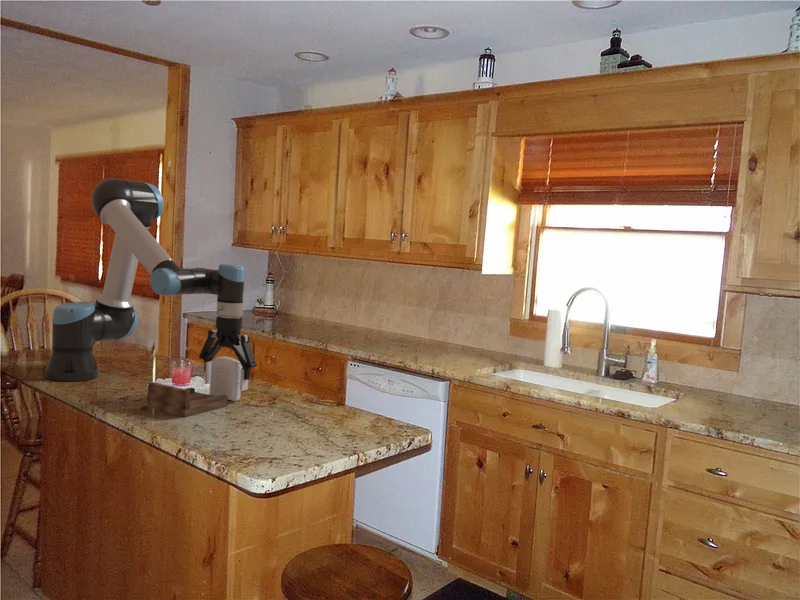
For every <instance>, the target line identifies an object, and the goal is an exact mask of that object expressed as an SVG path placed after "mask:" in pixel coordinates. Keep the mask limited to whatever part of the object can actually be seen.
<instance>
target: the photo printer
mask: <svg viewBox="0 0 800 600" xmlns="http://www.w3.org/2000/svg"><path fill="white" fill-rule="evenodd" d="M242 368H243V367H242V365H241V363H240V361H239V360H237V359H236V358H234V357H232V356H231V357H230V356H218V357H217V356H215V357H214V358H213V359H212V366H211V382H210V383H209V395H211V396H215V397H217V396H221V395H226V396H227V401H228V400H229V401H231V402H232V401H233V402H236V401H240V399H241V397H242V396H241V395H242V391H240V375H241V369H242Z"/></svg>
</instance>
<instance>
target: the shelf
mask: <svg viewBox="0 0 800 600" xmlns="http://www.w3.org/2000/svg"><path fill="white" fill-rule="evenodd" d="M147 384H148V386H147V407H146V408H147V409H151V410H154V411H159V412H163V413H166V414H169V415H174V416H179V417H182V418H189V417H192V416H195V415H198V414H202V413H203V414H204V413H207V412H211V411H214V410H217V409H221V408H225V407H227V406H228V400H227V396H226V395H221V396H217V397H216V396H212V395H210V394H206V393H202V392H197V391H196V389H195V388H194V387H189V388H188V387H187V388H181V387H176V386H173V385H167V384H163V383H159V382H155V381H151V382H148V383H147Z"/></svg>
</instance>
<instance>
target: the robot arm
mask: <svg viewBox="0 0 800 600" xmlns="http://www.w3.org/2000/svg"><path fill="white" fill-rule="evenodd" d="M90 197H91V198H90V199H91V206H92V209H93V211H94V213H95V215H97V217H98V218H99V220H101V222H102V223H103V224H105V225H109V226H110V227H111V229H112V230H113V231H114V232H115V234H114V238H113V243H112V247H111V248H112V249H111V253H110V258H109V262H108V265H107V271H106V276H105V282H104V285H103V289H102V293H101V294H99V295H98V296H97V297H96V299H95V303H92V302H88V301H77V302H76V301H73V302H67V303H62V304H59V305H57V306H55V308H54V309H53V314H52V320H51V323H52V336H51V337H52V341H51V355H50V357H49V360H48V363H47V364H46V367H45V372H44V377H45V378H46V379H47V380H51V381H58V382H81V381H88V380H93V379H96V378H98V377H99V368H98V364H97V360H96V358H95V355H94V343H96V342H103V341H104V342H105V341H113V340H114V341H116V340H120V339H125V338H128V337H129V336H131V335H132V334H134V332H135V330H136V329H137V326H138V322H139V316H138V315H137V314H138V312H137V309H136V308H135V307H134V305H135V303H134V302H133V300H132V299H131V296H132V292H133V286H134V282H135V278H136V274H137V269H138V264H139V263H140V264H141V265H142V267H144V269H145V270H146V271H147V273H148V274H149V275H150V278H149V284H150V285H151V286H150V287H151V290H152V291H153V292H154V293H155V294H156V295H160V296H177V295H178V296H179V295H201V294H207V295H214V296H215V295H216V315H217V316H216V319H215V328H216V329H210V330H209V329H208V333H207V337H206V339H205V342H204V344H203V347H202V349H201V350H200V353H199V356H198V358H199V359H200V360H201V359H202V360H203V363H204V364H203V365H204V366H203V370H204V384H210V382H211V366H212V361H213V359H214V358H216V355H217V354H218V353H219V352H220V351H221V349H222V348H227V349H231V350H232V351H233V352H234V354H235V356H236V358H237V359H238V361H239V362H240V363H241V365H242V369H241V375H240V391H241V392H243V391H244V392H245V391H247V390H249V380H250V379H251V370H252V368H256V367H257V362H256V357H255V355H254V352H253V349H252V346H251V341H250V335H249V334H241V330H242V329H243V318H242V316H243V311H244V291H245V290H244V289H245V280H246V279H245V267H244V266H243V265H240V264H231V263H230V264H228V263H221V264H219V265H218V269H211V268H205V267H191V268H180V267H179V266H178V264H177V263H176V262H175V261H174V259H173V258H172V257H171V256H170V254H168V252H167V251H166V250H165V249H164V248H163V246H162V245H161V244H160V243H159V242H158V241H157V239H156V238H155V237H154V236H153V235H152V233H151V232H150V231H149V229H151V228H152V224H153V221H154V220H157V219H159V217H161V216H162V214H163V212H164V208H165V206H164V205H165V203H164V202H165V201H164V198H163V195H162V193H161V191H160V189H159V188H157V187H156V185H154V184H151V183H148V182H144V181H138V180H130V179H121V178H113V177H111V178H106V179H104V180H101V181H100V182H98V184H96V186H95V187H94V188H93V191H92V193H91V196H90ZM216 339H217V340H216Z"/></svg>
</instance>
